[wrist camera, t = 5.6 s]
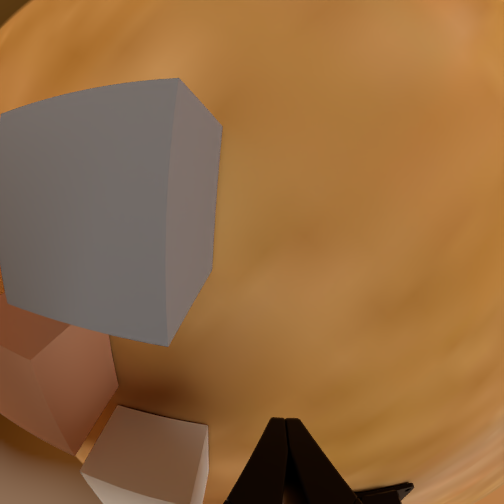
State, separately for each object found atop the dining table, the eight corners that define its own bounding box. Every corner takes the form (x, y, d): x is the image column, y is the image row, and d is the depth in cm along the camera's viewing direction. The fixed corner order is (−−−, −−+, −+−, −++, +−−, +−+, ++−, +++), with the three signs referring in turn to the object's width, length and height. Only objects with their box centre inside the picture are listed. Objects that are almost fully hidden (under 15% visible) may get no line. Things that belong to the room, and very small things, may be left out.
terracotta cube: (118, 386, 11) (74, 456, 6) (46, 361, 11) (-3, 411, 7) (103, 297, 10) (30, 360, 5) (27, 279, 10) (-42, 319, 5)
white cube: (208, 470, 12) (196, 534, 8) (133, 453, 12) (109, 510, 8) (208, 425, 11) (189, 506, 7) (117, 404, 11) (79, 471, 7)
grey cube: (212, 270, 9) (168, 347, 5) (93, 256, 9) (7, 303, 5) (222, 126, 8) (178, 78, 4) (96, 130, 8) (1, 114, 4)
